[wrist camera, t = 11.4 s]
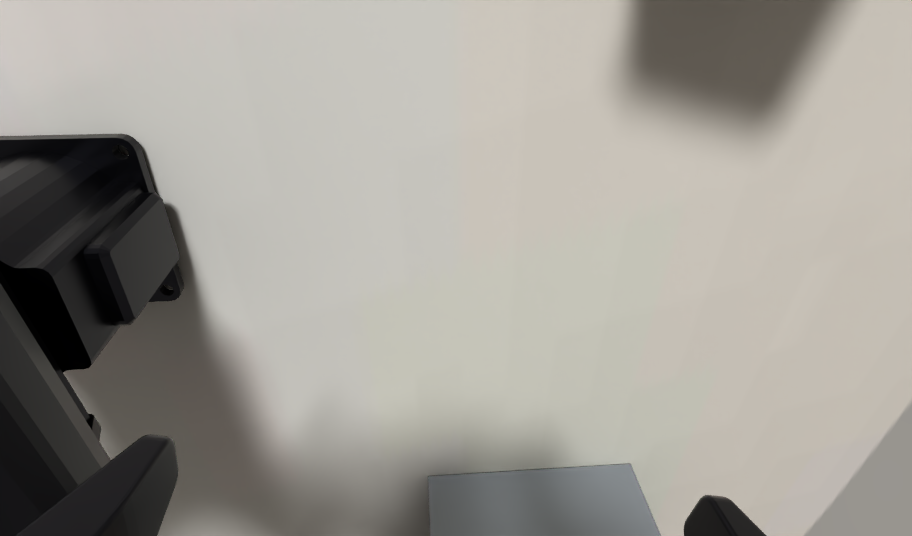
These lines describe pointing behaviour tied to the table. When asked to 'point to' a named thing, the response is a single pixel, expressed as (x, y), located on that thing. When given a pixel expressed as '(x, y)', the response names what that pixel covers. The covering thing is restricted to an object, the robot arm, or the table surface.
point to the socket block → (541, 503)
